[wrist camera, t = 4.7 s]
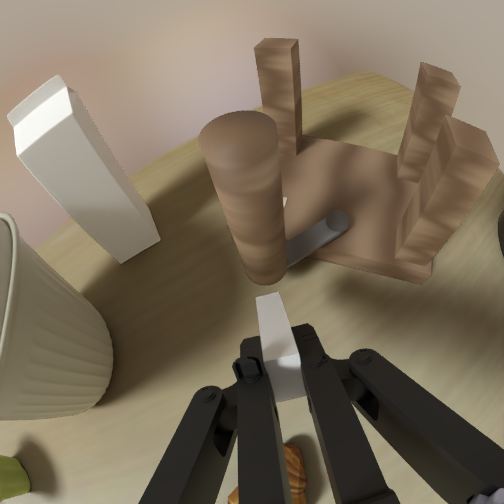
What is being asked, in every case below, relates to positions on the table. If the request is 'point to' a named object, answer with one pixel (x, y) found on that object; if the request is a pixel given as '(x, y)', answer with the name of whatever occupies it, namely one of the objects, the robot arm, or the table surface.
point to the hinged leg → (258, 195)
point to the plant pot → (12, 478)
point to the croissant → (294, 473)
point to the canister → (46, 337)
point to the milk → (81, 169)
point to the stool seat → (377, 173)
